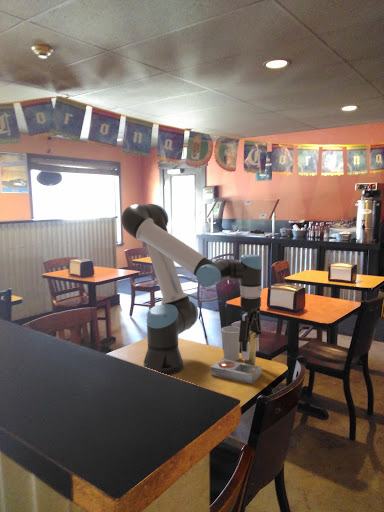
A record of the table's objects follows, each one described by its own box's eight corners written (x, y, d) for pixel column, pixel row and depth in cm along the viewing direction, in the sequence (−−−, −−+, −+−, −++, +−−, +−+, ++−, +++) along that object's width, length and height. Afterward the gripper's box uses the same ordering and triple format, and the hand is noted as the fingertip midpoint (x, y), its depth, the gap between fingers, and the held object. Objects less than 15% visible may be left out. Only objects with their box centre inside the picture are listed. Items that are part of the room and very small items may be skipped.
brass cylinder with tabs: (240, 368, 149) (240, 333, 147) (244, 365, 152) (244, 330, 150) (256, 372, 146) (256, 335, 144) (259, 368, 149) (260, 332, 147)
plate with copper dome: (210, 374, 144) (210, 366, 144) (221, 365, 152) (221, 358, 151) (251, 384, 136) (252, 375, 136) (261, 374, 144) (261, 366, 143)
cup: (240, 362, 155) (240, 333, 153) (220, 361, 156) (220, 332, 155) (242, 355, 162) (242, 326, 161) (222, 353, 164) (222, 326, 162)
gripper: (249, 304, 134) (248, 366, 137) (270, 291, 153) (269, 347, 156) (229, 301, 138) (229, 362, 141) (252, 289, 157) (251, 344, 159)
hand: (250, 354), depth 148 cm, fingers open, 9 cm apart
